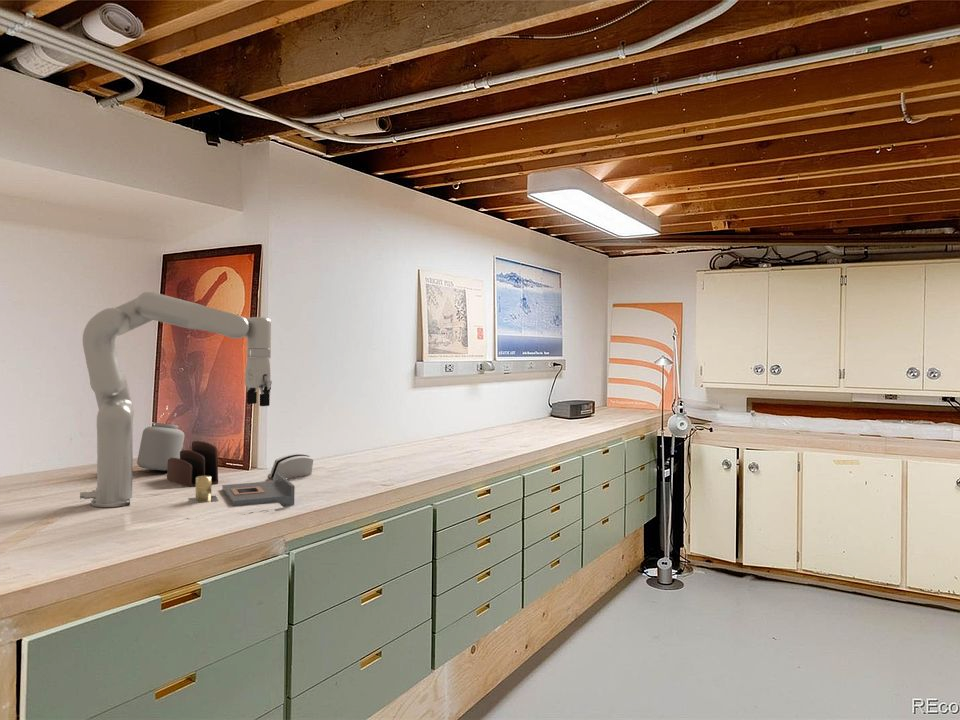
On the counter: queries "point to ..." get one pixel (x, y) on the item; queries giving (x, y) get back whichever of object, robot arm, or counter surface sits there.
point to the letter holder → (194, 464)
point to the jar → (160, 445)
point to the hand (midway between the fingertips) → (258, 404)
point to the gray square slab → (193, 501)
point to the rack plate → (261, 492)
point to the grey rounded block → (292, 466)
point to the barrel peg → (203, 488)
